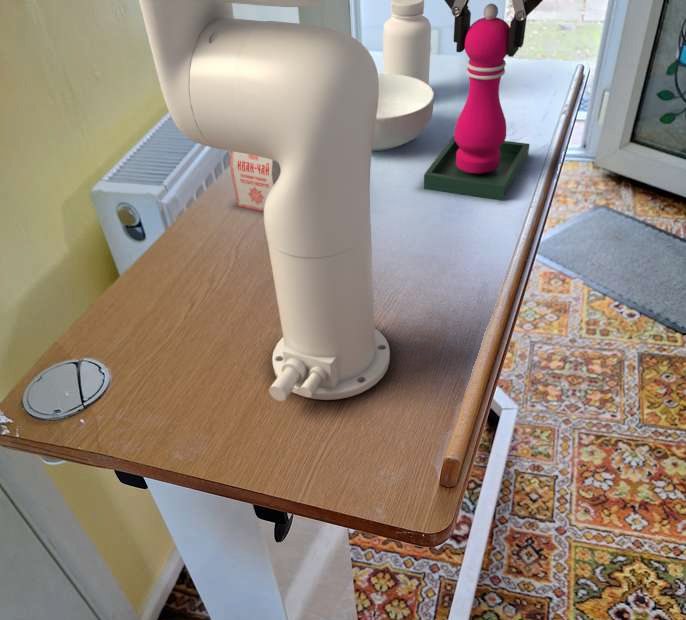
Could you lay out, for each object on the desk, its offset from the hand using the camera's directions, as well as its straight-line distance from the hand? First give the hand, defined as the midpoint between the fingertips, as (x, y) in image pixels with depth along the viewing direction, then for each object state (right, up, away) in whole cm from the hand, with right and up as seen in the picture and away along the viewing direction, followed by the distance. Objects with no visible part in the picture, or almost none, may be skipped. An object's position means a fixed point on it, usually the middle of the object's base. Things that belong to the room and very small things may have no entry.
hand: (487, 49), depth 86 cm
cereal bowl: (-13, -2, +22) cm, 25 cm away
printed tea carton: (-30, -16, +10) cm, 36 cm away
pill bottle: (-7, +11, +32) cm, 35 cm away
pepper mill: (+1, -10, +11) cm, 15 cm away
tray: (+1, -11, +12) cm, 16 cm away
